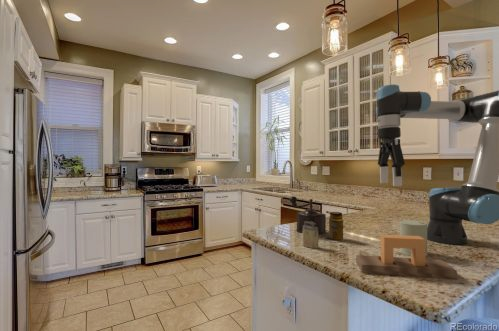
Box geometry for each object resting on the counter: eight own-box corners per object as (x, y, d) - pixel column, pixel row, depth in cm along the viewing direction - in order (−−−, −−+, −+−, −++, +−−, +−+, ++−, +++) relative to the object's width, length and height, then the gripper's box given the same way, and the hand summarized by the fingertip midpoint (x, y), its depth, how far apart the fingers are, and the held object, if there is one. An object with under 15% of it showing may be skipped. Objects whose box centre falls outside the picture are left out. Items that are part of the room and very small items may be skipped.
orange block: (419, 268, 86) (419, 236, 86) (425, 273, 82) (425, 239, 82) (380, 266, 89) (380, 234, 88) (384, 271, 85) (384, 237, 85)
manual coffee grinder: (310, 228, 142) (310, 194, 142) (326, 232, 133) (326, 196, 133) (287, 232, 134) (287, 196, 134) (303, 237, 124) (302, 198, 124)
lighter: (320, 247, 109) (320, 222, 109) (314, 249, 107) (314, 224, 107) (305, 243, 114) (305, 220, 114) (300, 245, 112) (300, 221, 112)
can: (428, 258, 96) (428, 224, 96) (398, 254, 101) (398, 222, 101) (427, 251, 104) (427, 220, 104) (399, 247, 108) (399, 217, 108)
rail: (441, 267, 87) (441, 259, 87) (456, 279, 78) (456, 270, 78) (356, 262, 92) (356, 254, 92) (361, 272, 84) (361, 264, 84)
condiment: (347, 239, 120) (347, 212, 120) (334, 242, 116) (334, 214, 116) (334, 236, 126) (334, 210, 126) (321, 239, 122) (321, 212, 122)
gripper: (368, 131, 114) (370, 182, 114) (390, 123, 89) (392, 187, 89) (387, 131, 113) (389, 181, 113) (414, 122, 88) (416, 187, 88)
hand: (390, 184), depth 101 cm, fingers open, 13 cm apart
